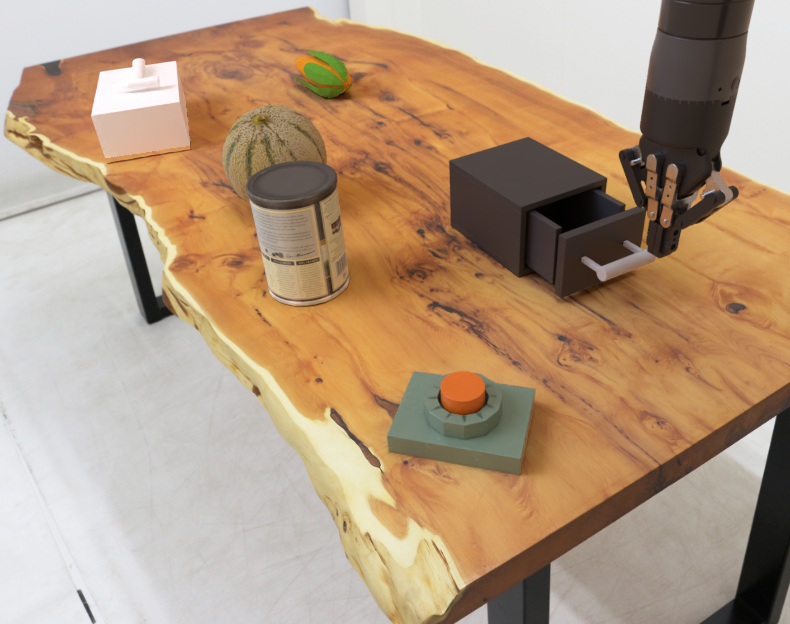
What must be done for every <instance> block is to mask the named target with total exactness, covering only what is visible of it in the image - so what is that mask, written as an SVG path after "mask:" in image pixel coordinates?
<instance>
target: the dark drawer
mask: <svg viewBox="0 0 790 624" xmlns="http://www.w3.org/2000/svg"><path fill="white" fill-rule="evenodd" d="M626 206H627V204H626V203H625V202H623V201H620V200H619V199H617V198H615V197H614V196H611V195H610V194H608V193H607V192H606V193H604V192H602V191H600V190H599V189H597V188H593V189H590V190H587V191H584V192H581V193H578V194H576V195H573V196H570V197H567V198H564V199H561V200H558V201H555V202H552V203H549V204H546V205H543V206H541V207H538V208H535V209H532V210H529V211H526V234H525V256H524V263H525V264H526V265H527V266H529V267H530V268H531V269H533V270H534V272H536V273H537V274H538V275H539V276H541V277H542V278H544V279H545V280H546V281H548V282H549V283H550V284H552V285H553V284H554V295H555V296H556V297H558V298H559V299H564V298H566V297H568V296H570V295H573V294H577V293H578V292H581V291H584V290H586V289H588V288H591V287H593V286H596V285H598V284H601V283H603V282H606V281H609V280H611V279H614V278H616V277H619V276H621V275H624V274H627V273H629V272H631V271H634V270H636V269H639V268H642V267H643V266H646V265H649V264H651V263H653V262H654V261H656V258H657V257H656V256H654V255H652V254H651V253H649V252H648V251H647V248H645V249H643V248H642V242H643V236H644V229H645V223H646V218H647V217H646V216H647V211H646V210H645V209H644V208H643V207H641V208H639V207H637V206H634V207H632V208H631V207H630V208H628V209H626Z"/></svg>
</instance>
